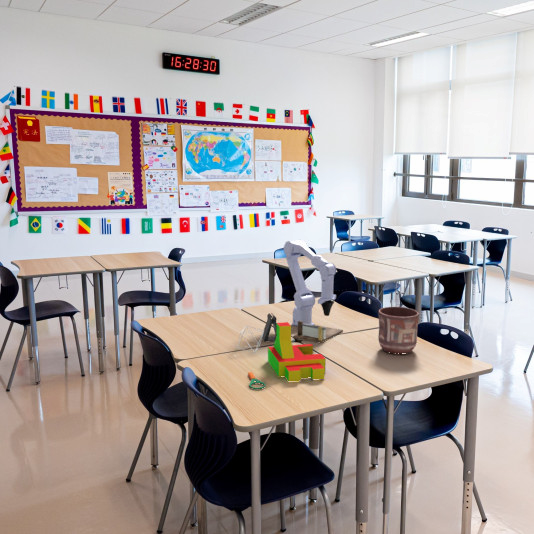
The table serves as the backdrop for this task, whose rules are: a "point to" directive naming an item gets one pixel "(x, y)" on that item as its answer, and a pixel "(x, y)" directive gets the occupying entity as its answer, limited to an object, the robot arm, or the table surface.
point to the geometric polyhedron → (252, 335)
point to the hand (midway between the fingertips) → (326, 315)
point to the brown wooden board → (329, 333)
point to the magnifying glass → (255, 380)
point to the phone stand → (269, 328)
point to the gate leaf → (312, 330)
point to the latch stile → (320, 333)
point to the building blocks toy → (294, 357)
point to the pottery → (398, 329)
